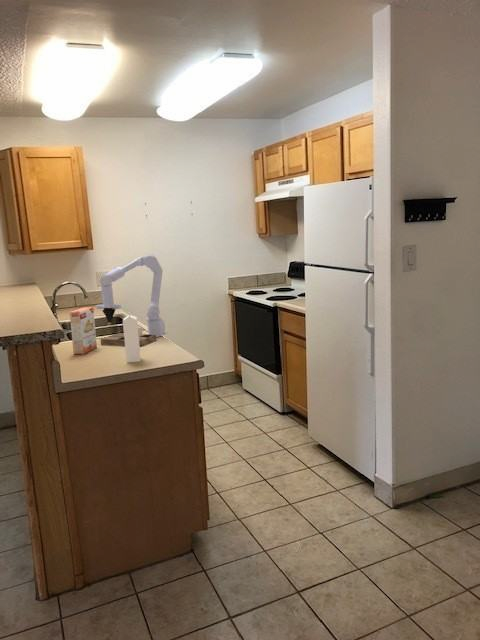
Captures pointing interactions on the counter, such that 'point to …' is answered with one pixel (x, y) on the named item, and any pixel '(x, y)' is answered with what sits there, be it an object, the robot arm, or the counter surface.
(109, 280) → the robot arm
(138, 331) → the block
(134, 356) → the milk
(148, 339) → the trap board
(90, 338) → the cracker box
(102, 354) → the counter surface
